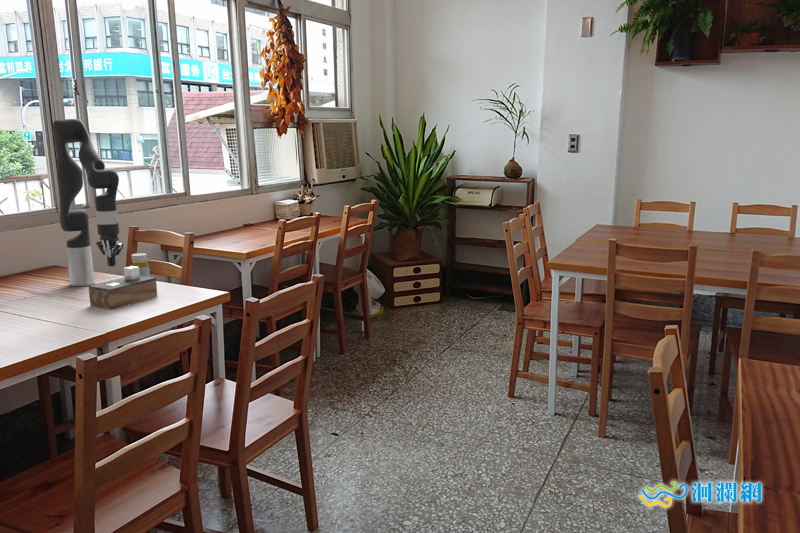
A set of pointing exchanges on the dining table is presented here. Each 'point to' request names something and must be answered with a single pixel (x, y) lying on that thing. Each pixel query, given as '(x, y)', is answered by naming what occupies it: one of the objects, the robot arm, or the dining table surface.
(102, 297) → the walnut block
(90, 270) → the robot arm
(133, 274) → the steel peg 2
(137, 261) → the bottle
